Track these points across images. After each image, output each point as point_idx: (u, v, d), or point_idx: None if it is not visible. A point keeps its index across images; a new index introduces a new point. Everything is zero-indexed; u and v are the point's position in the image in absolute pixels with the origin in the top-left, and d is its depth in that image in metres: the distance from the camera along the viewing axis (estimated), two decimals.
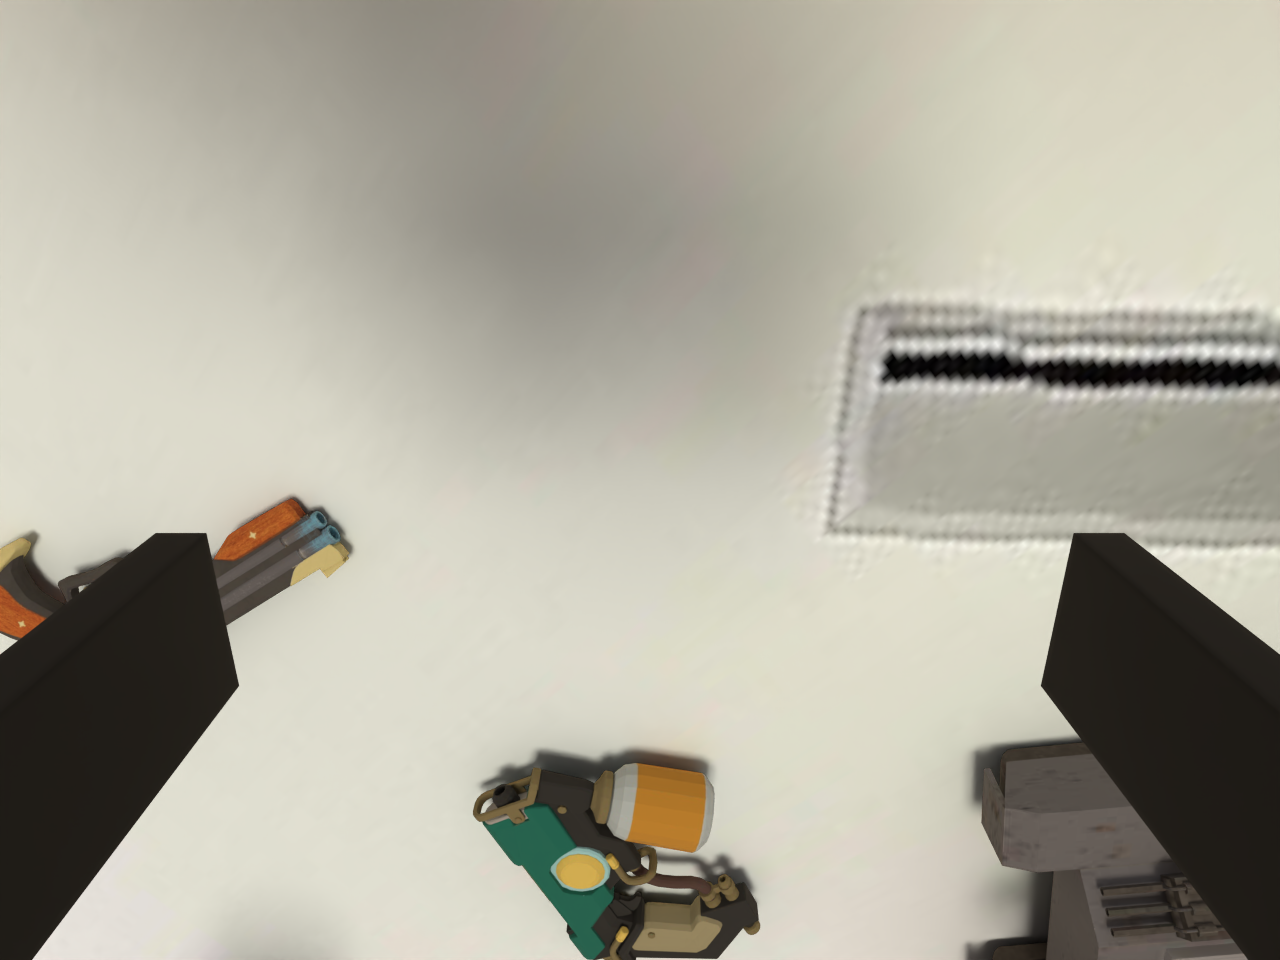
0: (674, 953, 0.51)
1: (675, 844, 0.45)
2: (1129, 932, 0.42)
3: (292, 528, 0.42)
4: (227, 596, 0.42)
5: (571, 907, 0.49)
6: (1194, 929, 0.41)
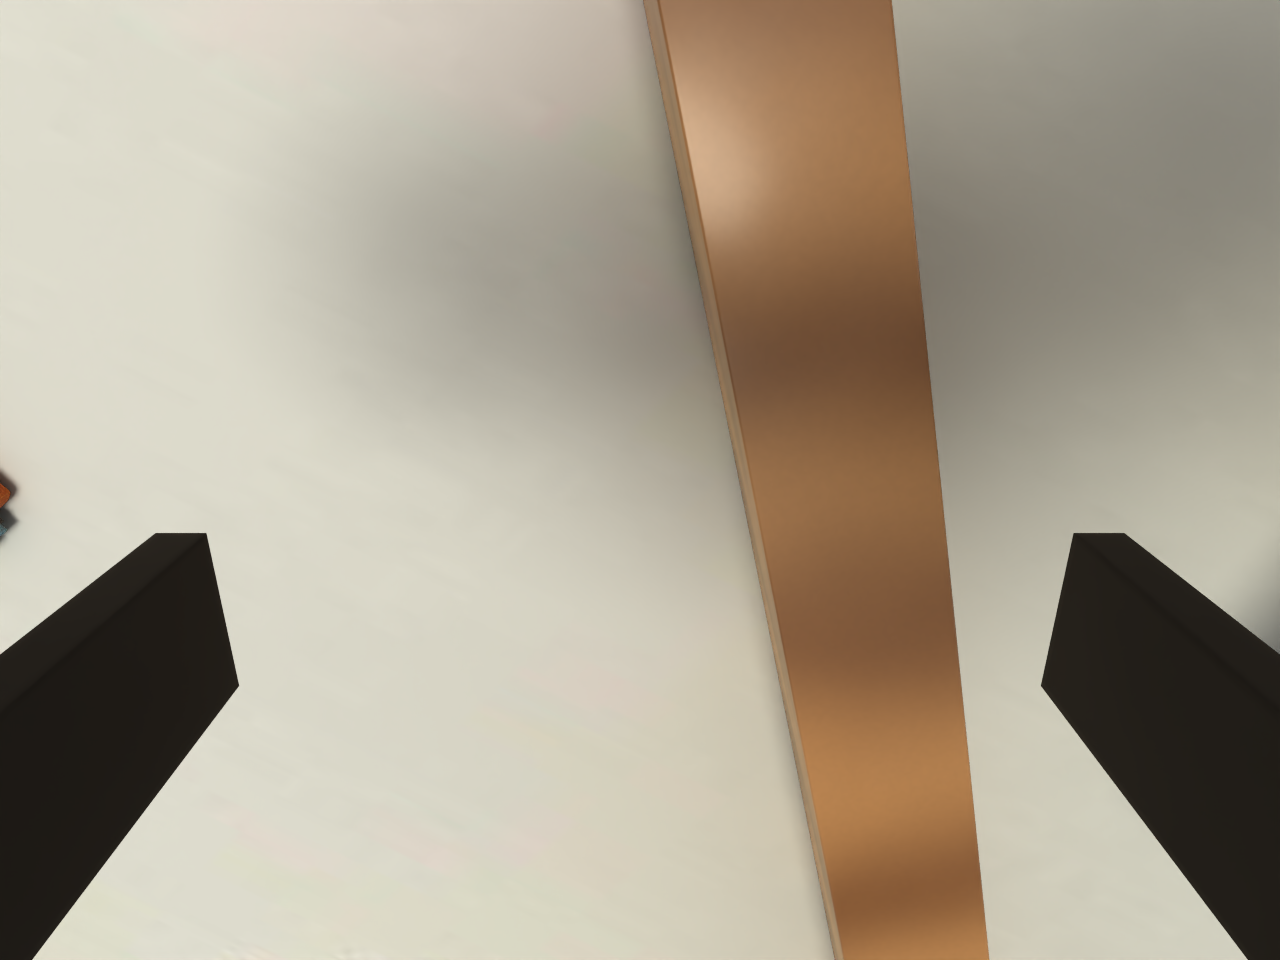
0: None
1: None
2: None
3: None
4: None
5: None
6: None
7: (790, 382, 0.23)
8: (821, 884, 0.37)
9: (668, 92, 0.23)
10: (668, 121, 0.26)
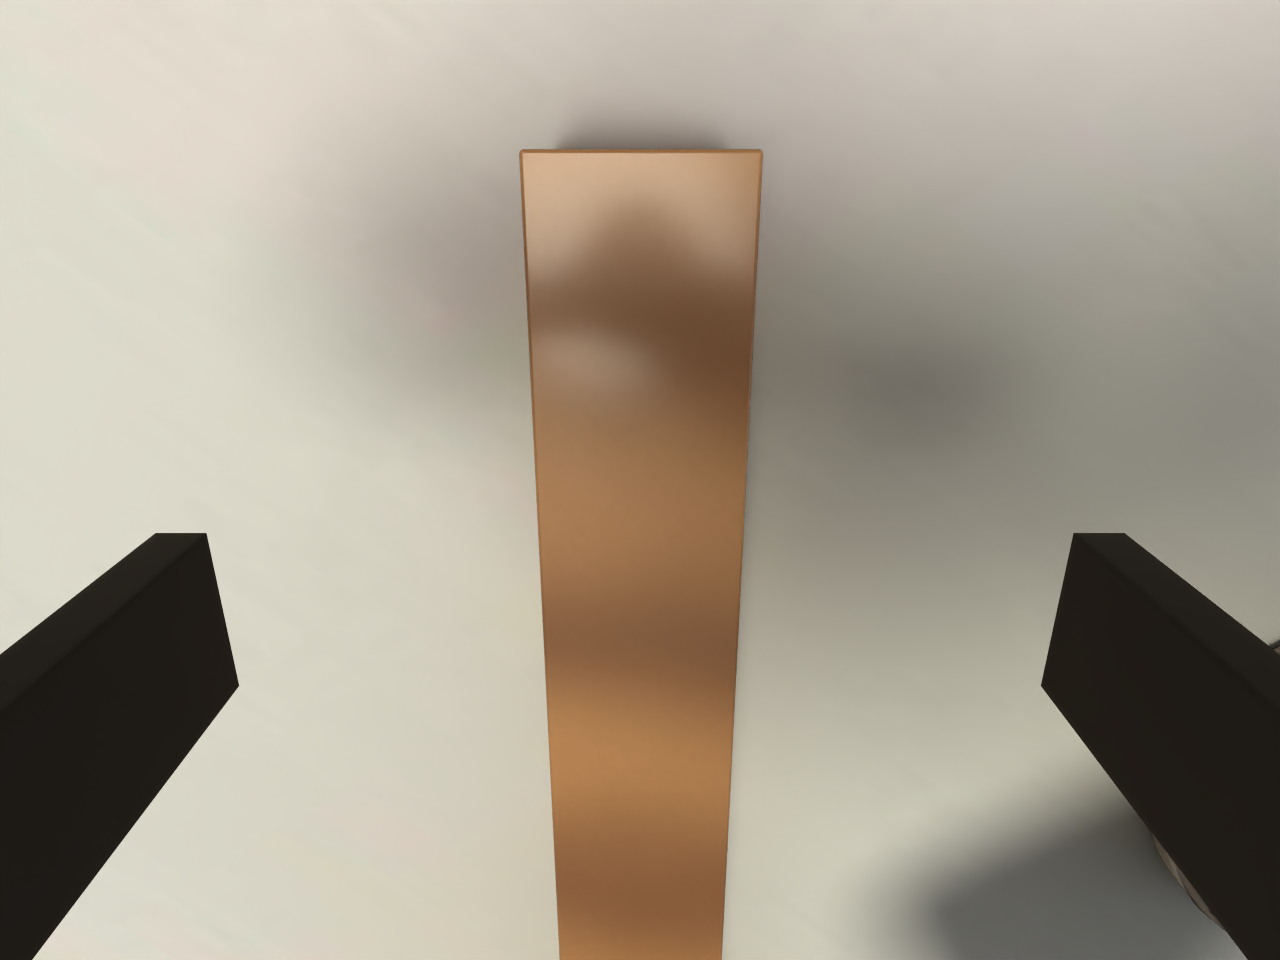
0: None
1: None
2: None
3: None
4: None
5: None
6: None
7: (601, 666, 0.23)
8: None
9: None
10: None
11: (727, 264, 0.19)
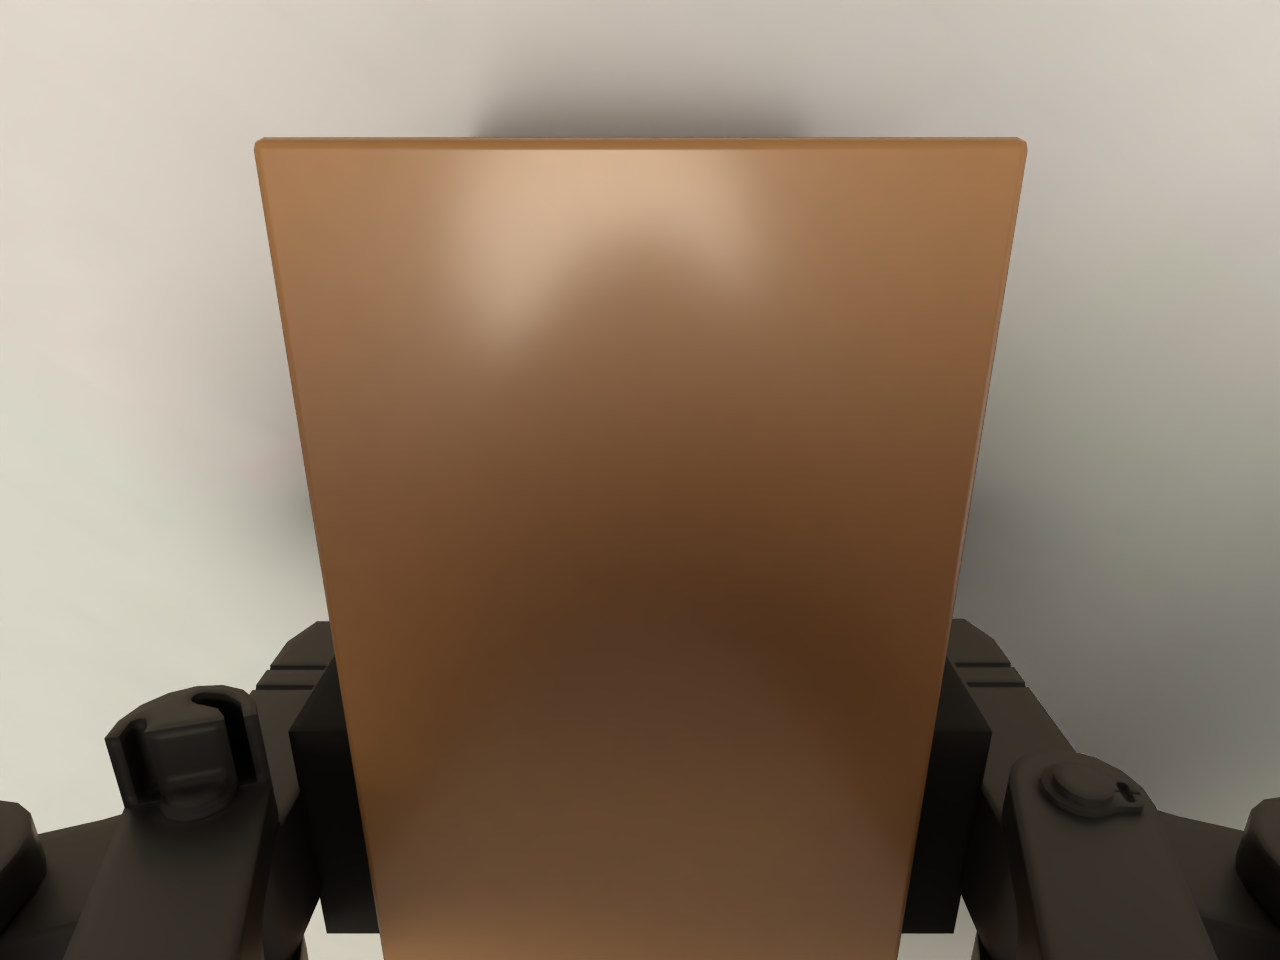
0: None
1: None
2: None
3: None
4: None
5: None
6: None
7: None
8: None
9: None
10: None
11: (893, 473, 0.06)
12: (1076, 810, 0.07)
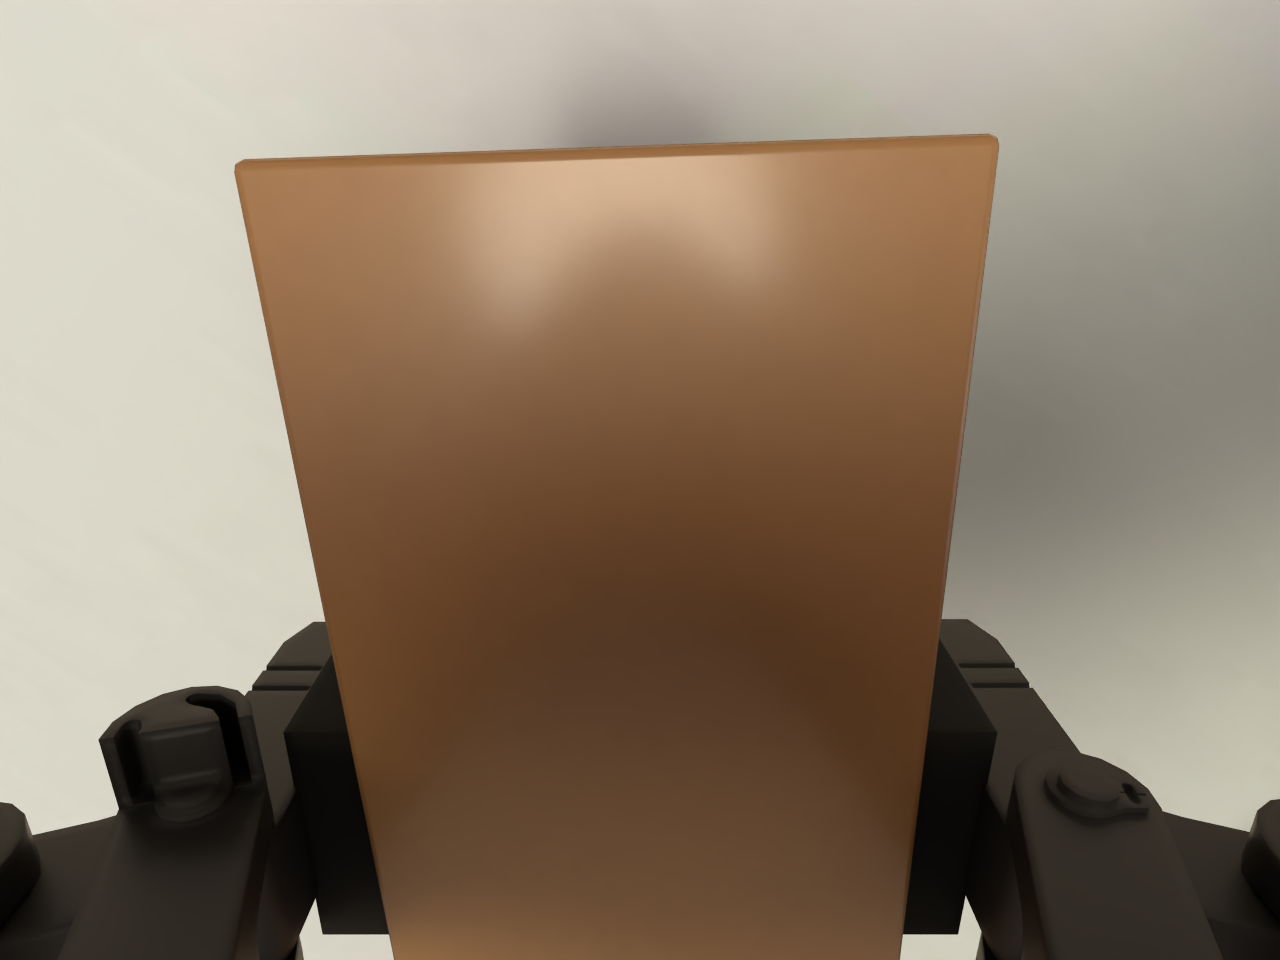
0: None
1: None
2: None
3: None
4: None
5: None
6: None
7: None
8: None
9: None
10: None
11: (877, 471, 0.07)
12: (1080, 811, 0.07)
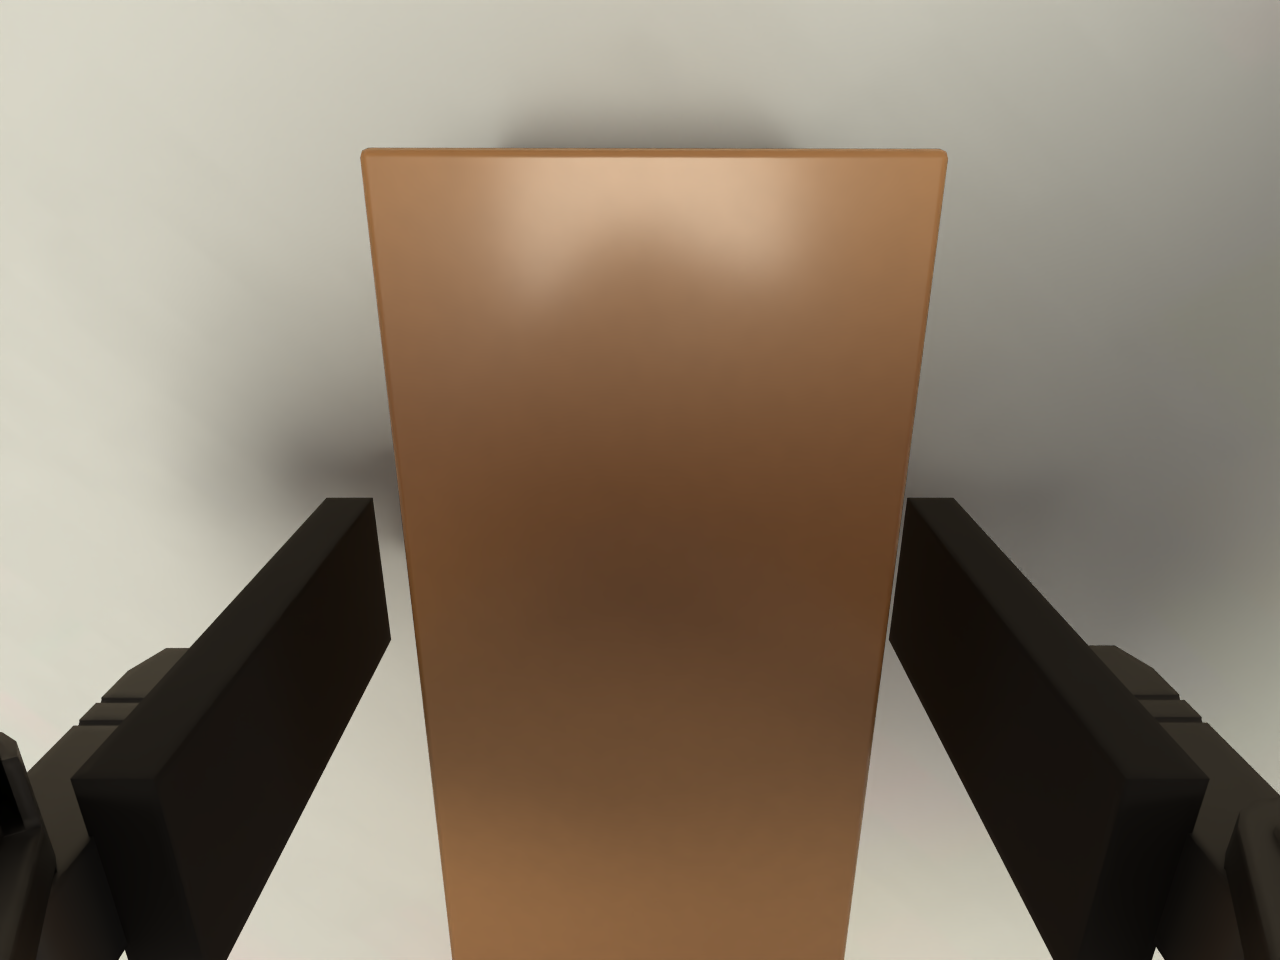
0: None
1: None
2: None
3: None
4: None
5: None
6: None
7: None
8: None
9: None
10: None
11: (850, 411, 0.08)
12: None
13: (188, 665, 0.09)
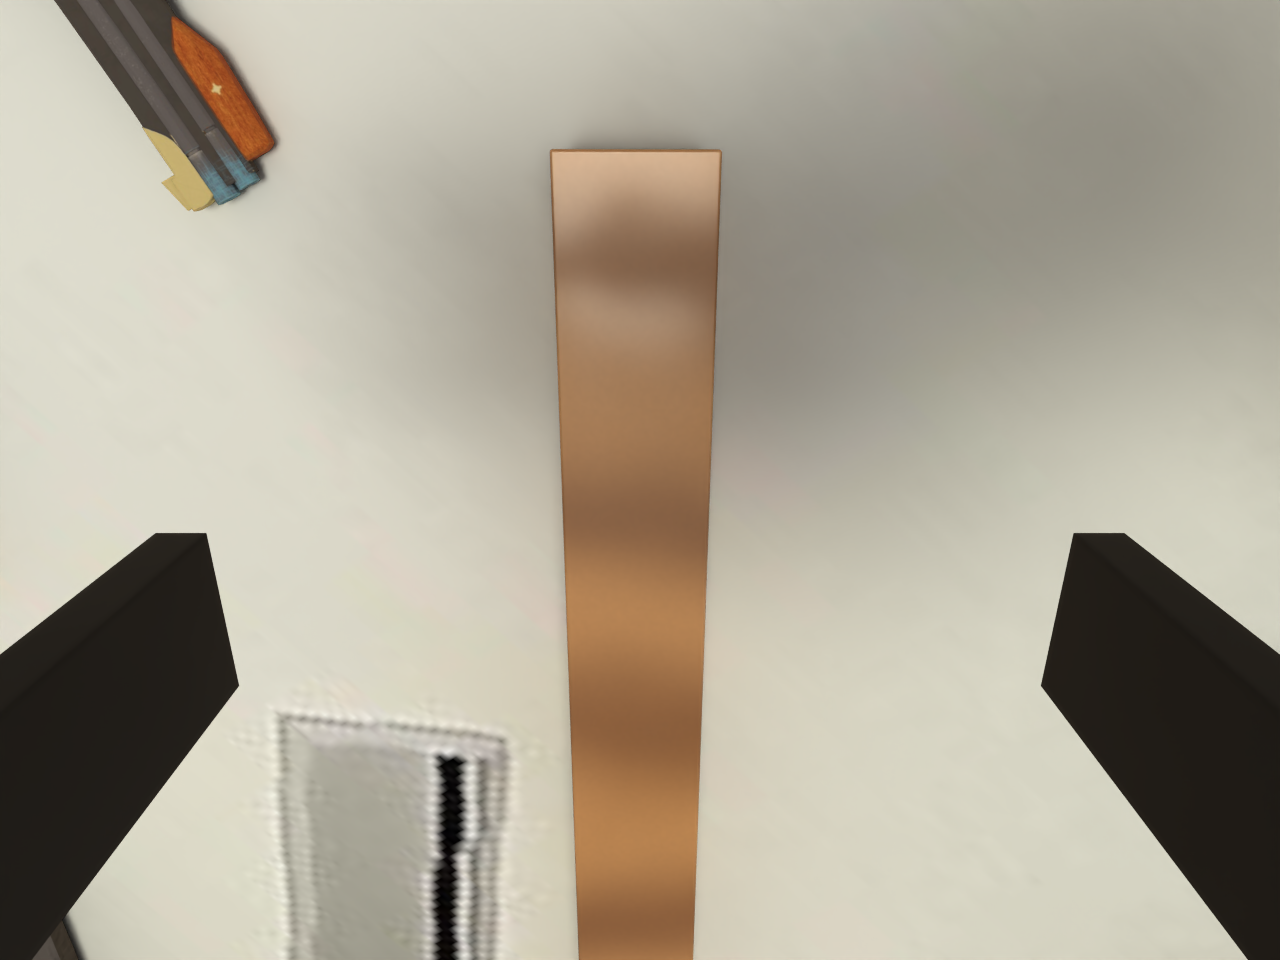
0: None
1: None
2: None
3: (231, 144, 0.31)
4: (111, 25, 0.29)
5: None
6: None
7: (606, 538, 0.30)
8: None
9: None
10: None
11: (698, 231, 0.26)
12: None
13: None
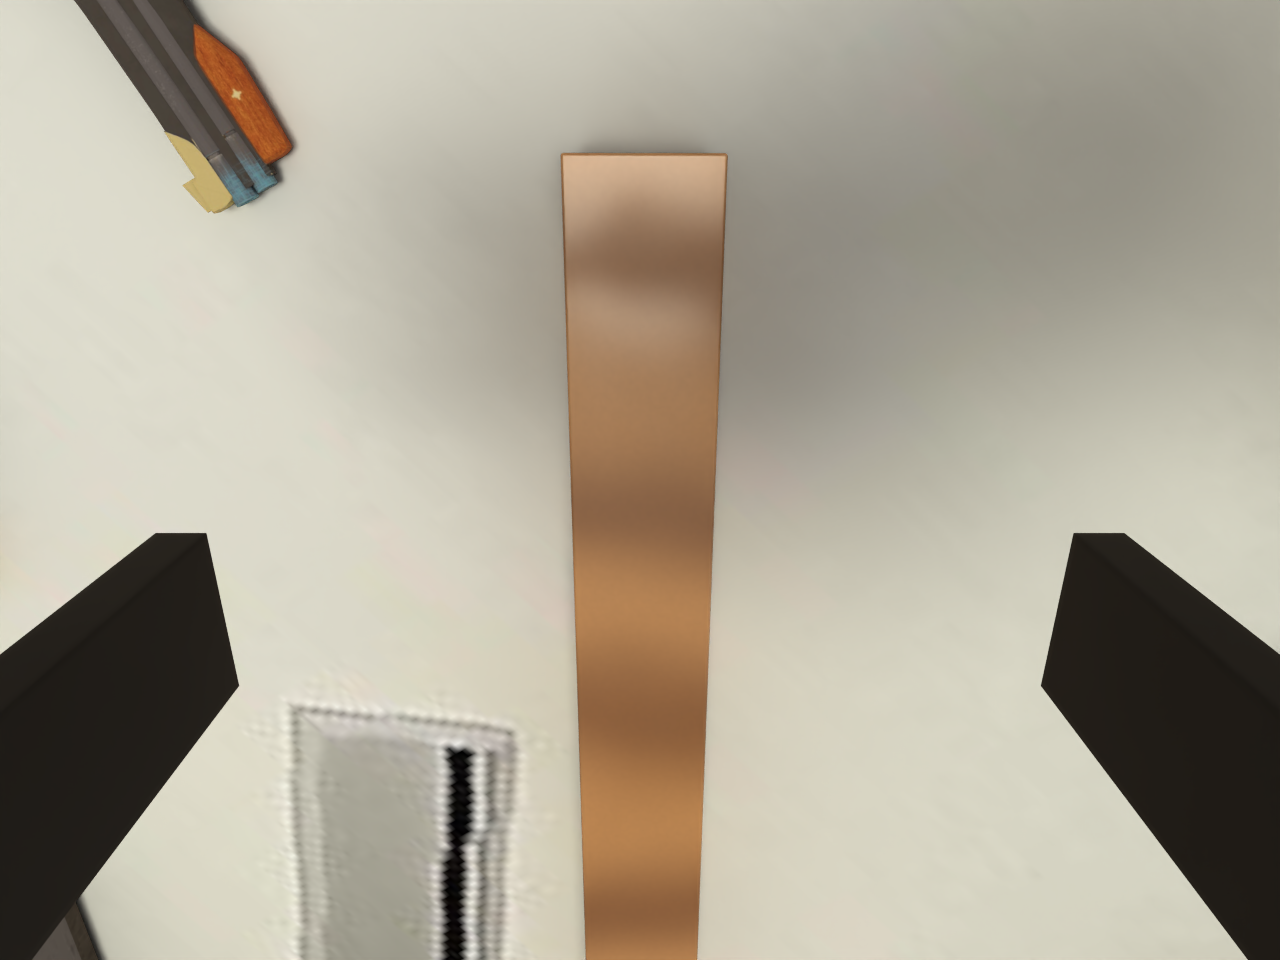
0: None
1: None
2: None
3: (251, 148, 0.32)
4: (135, 32, 0.30)
5: None
6: None
7: (614, 531, 0.31)
8: None
9: None
10: None
11: (704, 233, 0.27)
12: None
13: None
